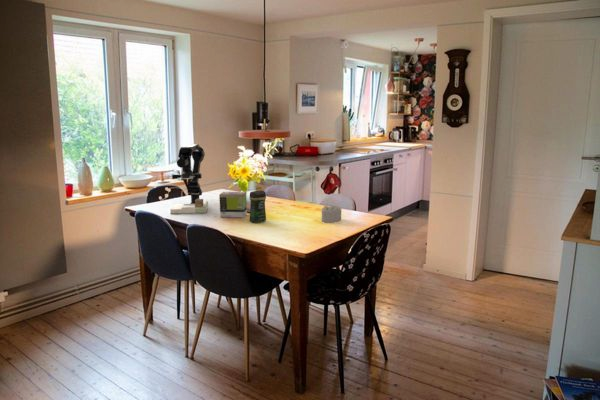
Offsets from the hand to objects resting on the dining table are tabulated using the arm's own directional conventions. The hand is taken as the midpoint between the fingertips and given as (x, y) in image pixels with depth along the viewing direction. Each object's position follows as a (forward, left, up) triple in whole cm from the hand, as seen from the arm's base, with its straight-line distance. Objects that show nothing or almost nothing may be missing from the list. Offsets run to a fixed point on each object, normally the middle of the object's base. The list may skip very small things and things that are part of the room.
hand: (187, 188), depth 314 cm
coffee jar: (+42, +46, -13) cm, 64 cm away
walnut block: (+10, +8, -10) cm, 16 cm away
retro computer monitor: (+26, +31, -13) cm, 43 cm away
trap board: (+9, +2, -13) cm, 16 cm away
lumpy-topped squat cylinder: (+44, +89, -13) cm, 100 cm away
